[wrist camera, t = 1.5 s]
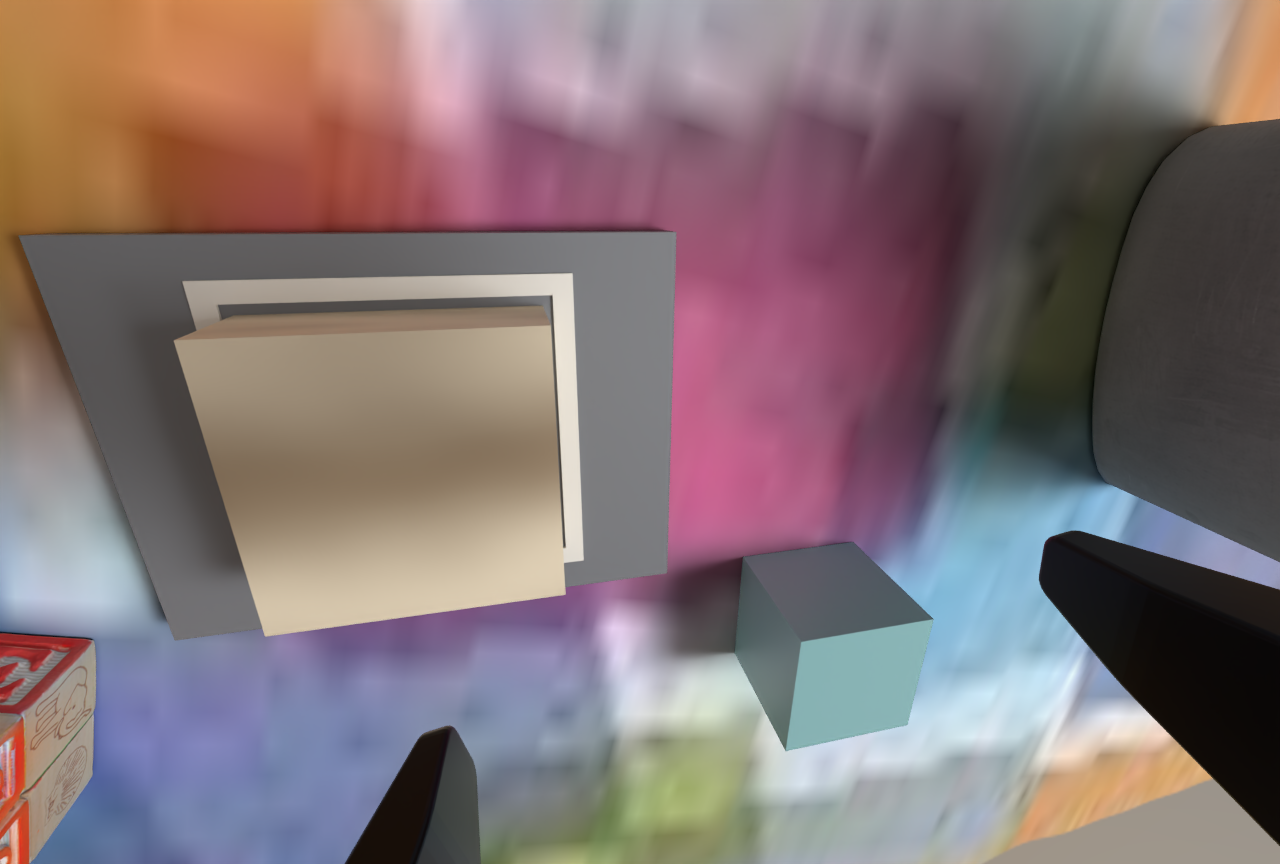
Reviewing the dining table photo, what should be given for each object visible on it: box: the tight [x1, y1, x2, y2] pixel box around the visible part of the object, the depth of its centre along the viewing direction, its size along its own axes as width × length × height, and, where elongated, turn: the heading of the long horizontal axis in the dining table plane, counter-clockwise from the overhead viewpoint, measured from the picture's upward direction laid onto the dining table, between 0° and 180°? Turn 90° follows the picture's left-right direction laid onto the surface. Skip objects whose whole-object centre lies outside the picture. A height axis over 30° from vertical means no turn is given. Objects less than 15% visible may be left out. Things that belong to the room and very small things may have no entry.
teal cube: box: [735, 542, 934, 751], centre depth 22 cm, size 5×5×5 cm
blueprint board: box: [19, 231, 676, 640], centre depth 17 cm, size 12×16×1 cm
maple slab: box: [174, 305, 566, 637], centre depth 16 cm, size 8×8×3 cm
